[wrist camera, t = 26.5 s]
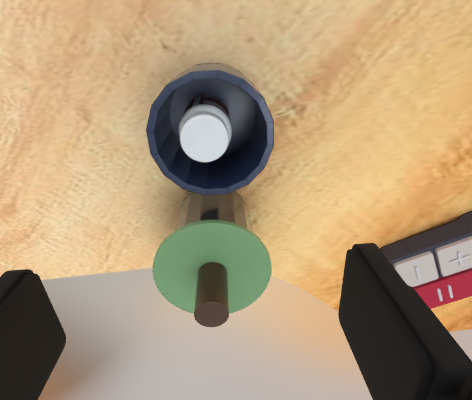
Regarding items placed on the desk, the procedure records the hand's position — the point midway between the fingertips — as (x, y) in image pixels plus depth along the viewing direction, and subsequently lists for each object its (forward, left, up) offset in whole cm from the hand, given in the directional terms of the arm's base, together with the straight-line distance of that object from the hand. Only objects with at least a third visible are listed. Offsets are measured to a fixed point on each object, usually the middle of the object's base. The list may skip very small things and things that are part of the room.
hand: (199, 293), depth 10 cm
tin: (0, 0, -26) cm, 26 cm away
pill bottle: (0, -1, -26) cm, 26 cm away
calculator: (+22, +30, -26) cm, 45 cm away
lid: (+12, -1, -16) cm, 20 cm away
